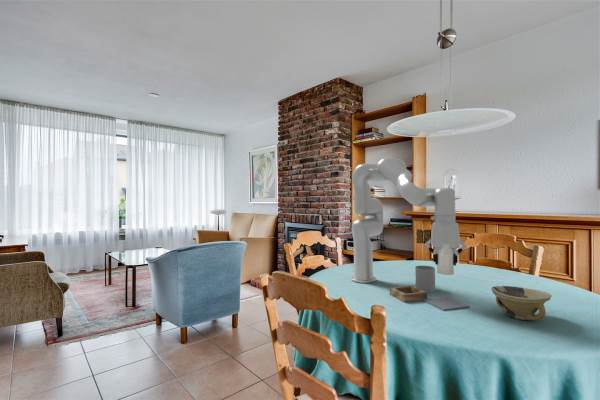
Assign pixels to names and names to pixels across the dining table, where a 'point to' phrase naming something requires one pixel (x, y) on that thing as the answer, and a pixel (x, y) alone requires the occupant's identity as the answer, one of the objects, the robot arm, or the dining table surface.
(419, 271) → the cup
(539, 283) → the dining table surface
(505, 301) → the bowl
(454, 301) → the coaster
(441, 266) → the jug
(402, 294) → the tray
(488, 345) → the dining table surface
